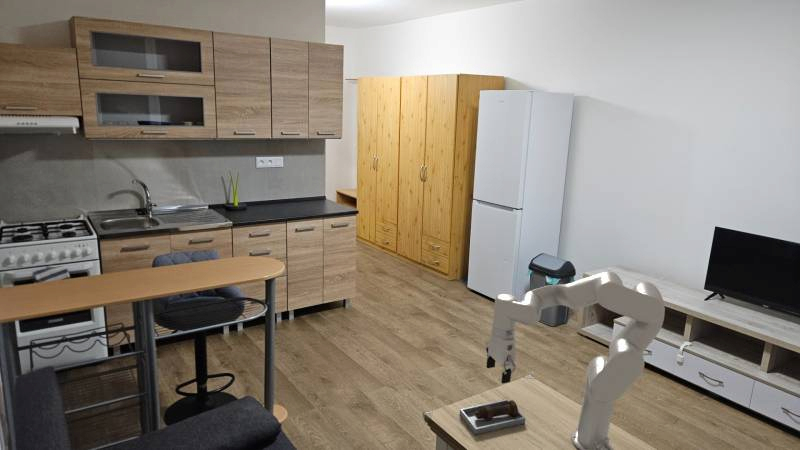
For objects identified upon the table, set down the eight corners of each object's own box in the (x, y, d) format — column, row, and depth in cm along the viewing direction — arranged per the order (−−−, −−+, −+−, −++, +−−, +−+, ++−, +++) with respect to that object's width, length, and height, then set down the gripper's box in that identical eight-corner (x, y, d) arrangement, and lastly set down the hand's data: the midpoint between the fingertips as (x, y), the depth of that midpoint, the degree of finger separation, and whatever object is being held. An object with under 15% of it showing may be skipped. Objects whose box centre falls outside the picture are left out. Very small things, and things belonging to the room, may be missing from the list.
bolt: (474, 422, 186) (512, 415, 190) (480, 424, 181) (519, 417, 186) (472, 405, 187) (510, 399, 191) (477, 407, 183) (516, 400, 187)
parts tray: (524, 423, 185) (525, 417, 185) (475, 435, 178) (475, 429, 177) (507, 404, 195) (507, 399, 195) (459, 415, 188) (460, 409, 187)
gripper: (527, 341, 170) (521, 386, 175) (498, 317, 186) (494, 360, 191) (507, 344, 168) (502, 390, 172) (480, 320, 183) (475, 363, 188)
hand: (497, 374), depth 182 cm, fingers open, 9 cm apart
